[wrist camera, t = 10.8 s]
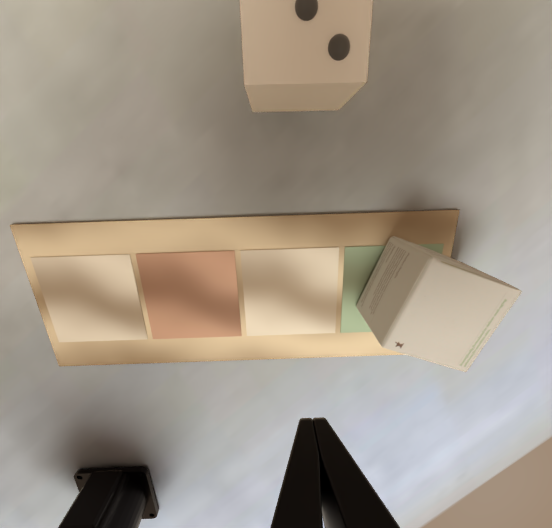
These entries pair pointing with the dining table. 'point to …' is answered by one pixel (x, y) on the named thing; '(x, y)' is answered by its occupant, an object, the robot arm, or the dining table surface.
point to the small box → (432, 305)
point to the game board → (215, 284)
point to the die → (304, 52)
